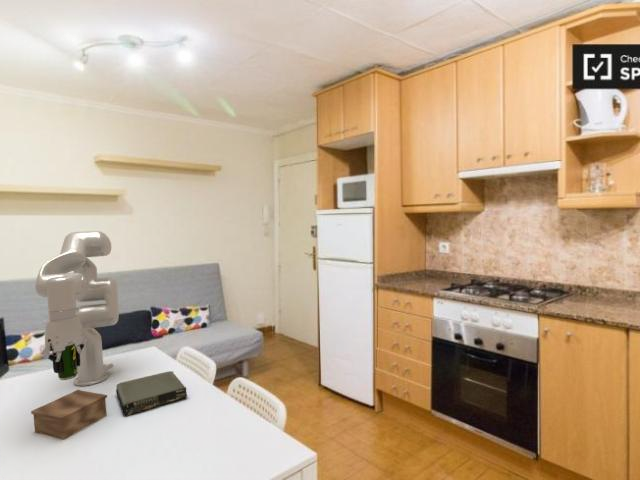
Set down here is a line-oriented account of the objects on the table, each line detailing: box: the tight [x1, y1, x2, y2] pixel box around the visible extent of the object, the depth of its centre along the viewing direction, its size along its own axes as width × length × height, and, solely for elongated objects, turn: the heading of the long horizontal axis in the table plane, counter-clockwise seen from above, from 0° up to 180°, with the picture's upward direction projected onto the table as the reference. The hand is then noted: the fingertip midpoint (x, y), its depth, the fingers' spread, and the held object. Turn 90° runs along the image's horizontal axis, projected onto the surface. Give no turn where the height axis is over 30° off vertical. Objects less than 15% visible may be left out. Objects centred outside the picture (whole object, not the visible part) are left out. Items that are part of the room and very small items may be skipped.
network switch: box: [115, 370, 187, 417], centre depth 148 cm, size 23×24×5 cm
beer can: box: [56, 341, 78, 381], centre depth 130 cm, size 5×5×12 cm
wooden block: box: [30, 389, 108, 440], centre depth 131 cm, size 16×14×7 cm
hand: (67, 368), depth 130 cm, fingers closed on beer can, 5 cm apart
